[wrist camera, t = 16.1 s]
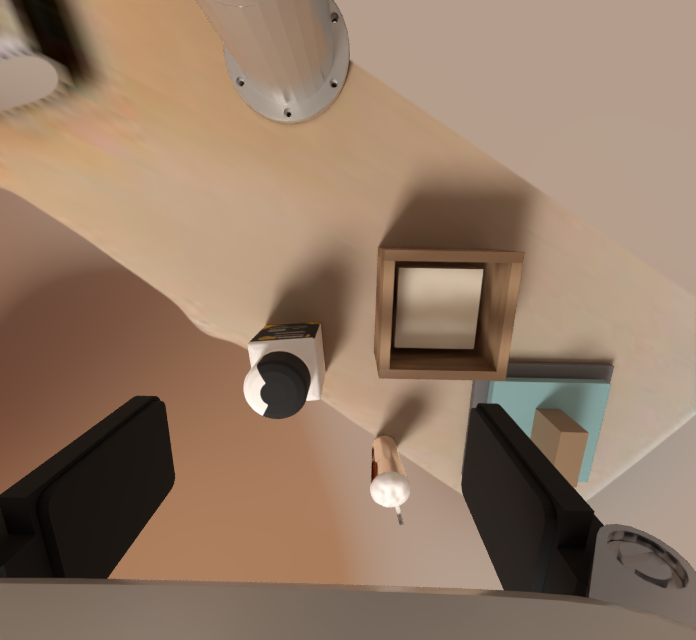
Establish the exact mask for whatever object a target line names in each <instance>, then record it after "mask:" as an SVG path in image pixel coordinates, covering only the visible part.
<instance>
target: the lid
mask: <svg viewBox="0 0 696 640" xmlns="http://www.w3.org/2000/svg"><path fill="white" fill-rule="evenodd" d="M610 387H611V383H609V382H607V381H605V380H599V379H556V378H512V377H506V379H505V381H490V384H489V391H488V398H487V403H497V404H499V405H501V406H502V408H503V409H504V410H505V411H506V412H507V413H508V414H509V415H510V417H511V418H512V419H513V420H514V421H515V422H516V423H517V425H518V426H519V427H520V428H521V429H522V430H523V431H524V432H525V434H526V435H527V436H528V437H529V438H530V439H531V440H532V441H533V443H534V444H535V445H536V446H537V447H538V448H539V449H540V451H541V452H542V453H543V454H544V455H545V456H546V457H547V458H548V460H549V461H550V462H551V463H552V464H553V465H554V466H555V468H556V469H557V470H558V471H559V472H560V473H561V474H562V475H563V477H564V478H565V479H566V480H567V481H568V482H569V483H570V484H571V486H572V487H577V482H588V478H589V474H590V470H591V466H592V462H593V458H594V454H595V449H596V445H597V441H598V437H599V433H600V429H601V425H602V420H603V416H604V412H605V408H606V404H607V400H608V396H609V391H610Z"/></svg>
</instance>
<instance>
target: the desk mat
mask: <svg viewBox="0 0 696 640" xmlns="http://www.w3.org/2000/svg"><path fill="white" fill-rule="evenodd" d="M613 368H614V366H612V365H610V364H589V363H540V362H508V366H507V372H506V377H512V378H556V379H599V380H605V381H607V382H609V383H610V381H611V377H612V373H613ZM489 384H490V381H486V380H473V385H472V393H471V401H470V409H469V417H468V425H467V434H468V426H469V418H470V411H471V409H472V408H476V406H477V404H478V403H487V398H488V391H489ZM467 434H466V442H467ZM466 442H465V450H466ZM465 450H464V458H465ZM464 458H463V466H464ZM463 466H462V474H463Z"/></svg>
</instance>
